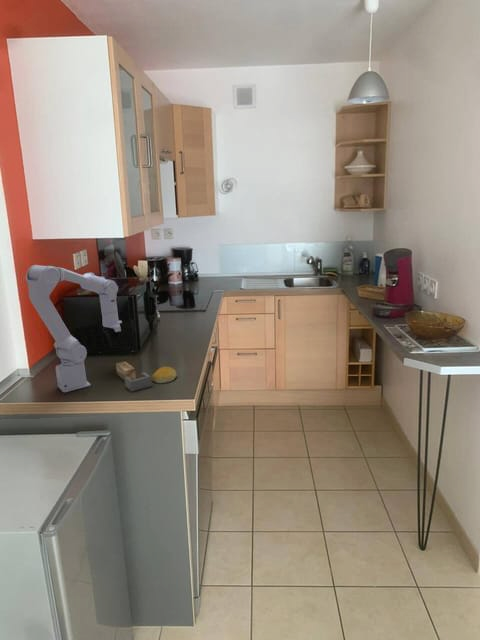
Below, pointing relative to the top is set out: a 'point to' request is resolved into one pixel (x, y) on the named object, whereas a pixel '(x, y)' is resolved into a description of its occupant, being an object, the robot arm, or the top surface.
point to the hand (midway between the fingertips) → (114, 346)
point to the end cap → (138, 382)
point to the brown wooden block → (125, 370)
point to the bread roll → (164, 375)
